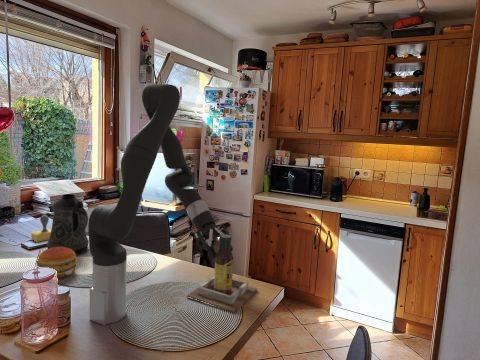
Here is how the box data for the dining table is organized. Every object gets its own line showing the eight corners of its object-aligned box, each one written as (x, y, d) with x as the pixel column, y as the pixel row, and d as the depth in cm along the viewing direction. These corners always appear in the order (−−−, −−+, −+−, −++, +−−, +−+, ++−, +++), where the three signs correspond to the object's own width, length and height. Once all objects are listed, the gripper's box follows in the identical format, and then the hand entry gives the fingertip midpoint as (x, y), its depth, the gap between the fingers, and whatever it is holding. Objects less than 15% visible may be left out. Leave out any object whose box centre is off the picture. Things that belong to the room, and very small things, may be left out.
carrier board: (234, 313, 104) (234, 302, 104) (186, 298, 112) (187, 288, 112) (256, 290, 120) (257, 281, 120) (214, 278, 128) (214, 270, 128)
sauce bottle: (228, 297, 112) (231, 240, 110) (211, 294, 114) (213, 237, 111) (233, 288, 119) (236, 234, 116) (216, 286, 120) (219, 232, 118)
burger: (85, 271, 128) (84, 246, 127) (53, 285, 116) (53, 257, 114) (59, 264, 133) (59, 240, 132) (26, 277, 121) (26, 250, 119)
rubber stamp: (37, 242, 156) (36, 217, 154) (31, 239, 159) (30, 215, 157) (58, 237, 164) (58, 214, 162) (52, 235, 167) (51, 212, 165)
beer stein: (60, 242, 157) (60, 190, 154) (101, 245, 157) (101, 193, 153) (38, 255, 141) (37, 197, 137) (83, 258, 140) (83, 200, 137)
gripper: (192, 212, 112) (216, 254, 107) (219, 207, 124) (242, 244, 119) (180, 224, 116) (203, 265, 111) (208, 218, 128) (229, 254, 122)
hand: (223, 254), depth 115 cm, fingers open, 8 cm apart
